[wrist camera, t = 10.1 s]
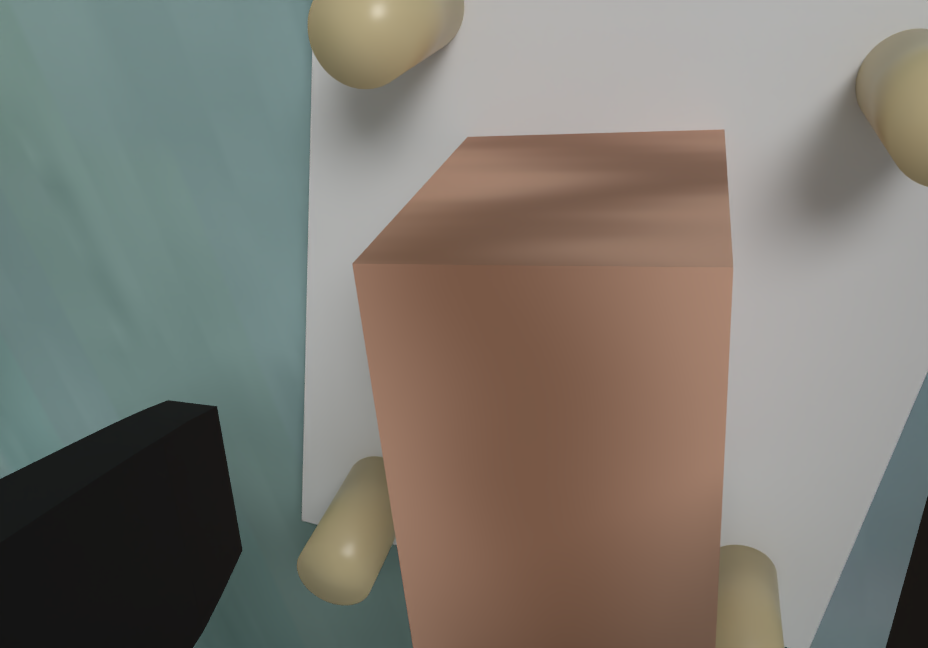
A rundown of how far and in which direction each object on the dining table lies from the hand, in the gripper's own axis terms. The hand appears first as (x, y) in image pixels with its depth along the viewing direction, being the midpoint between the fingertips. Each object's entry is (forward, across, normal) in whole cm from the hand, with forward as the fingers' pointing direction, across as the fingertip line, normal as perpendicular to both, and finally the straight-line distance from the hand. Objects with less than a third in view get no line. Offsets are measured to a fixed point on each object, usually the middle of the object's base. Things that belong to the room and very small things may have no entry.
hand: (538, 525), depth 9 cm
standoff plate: (+9, 0, +2) cm, 10 cm away
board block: (+8, 0, +2) cm, 8 cm away
